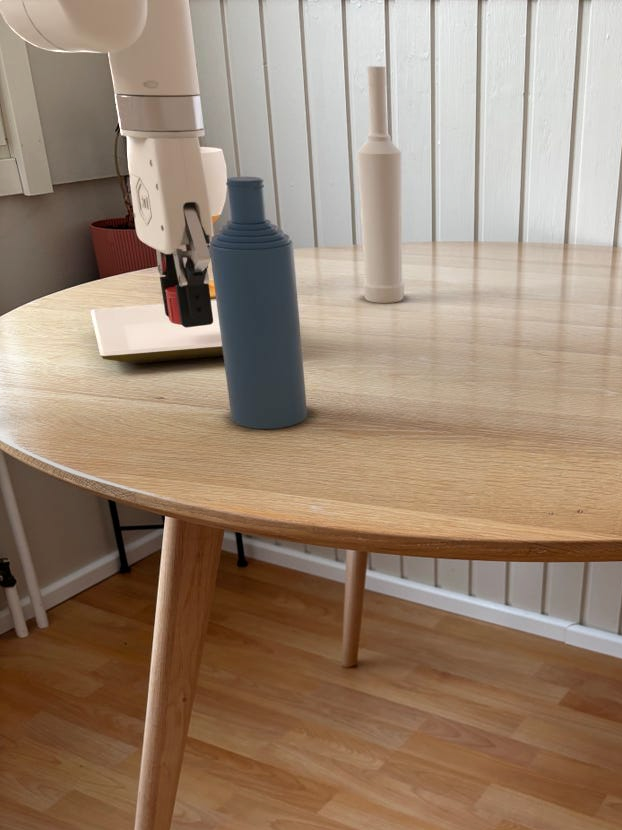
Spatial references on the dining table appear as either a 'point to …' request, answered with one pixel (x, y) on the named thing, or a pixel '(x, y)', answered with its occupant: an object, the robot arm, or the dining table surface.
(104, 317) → the plate
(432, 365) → the dining table surface
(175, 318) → the cap
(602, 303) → the dining table surface
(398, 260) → the bottle
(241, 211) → the water bottle
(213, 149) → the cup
